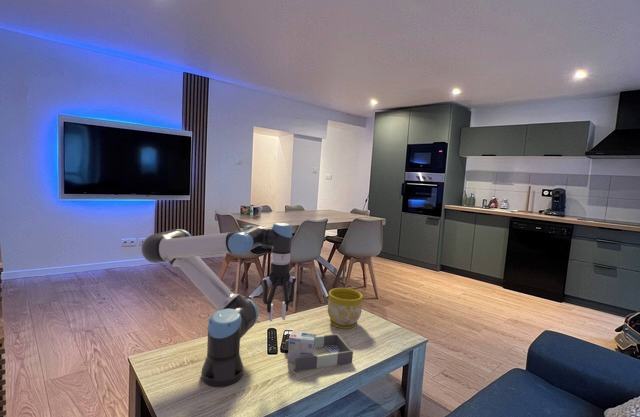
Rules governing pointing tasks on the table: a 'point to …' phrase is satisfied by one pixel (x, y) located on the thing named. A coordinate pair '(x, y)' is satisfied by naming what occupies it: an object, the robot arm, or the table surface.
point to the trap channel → (325, 359)
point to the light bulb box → (301, 345)
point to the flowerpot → (344, 307)
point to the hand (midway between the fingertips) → (276, 319)
